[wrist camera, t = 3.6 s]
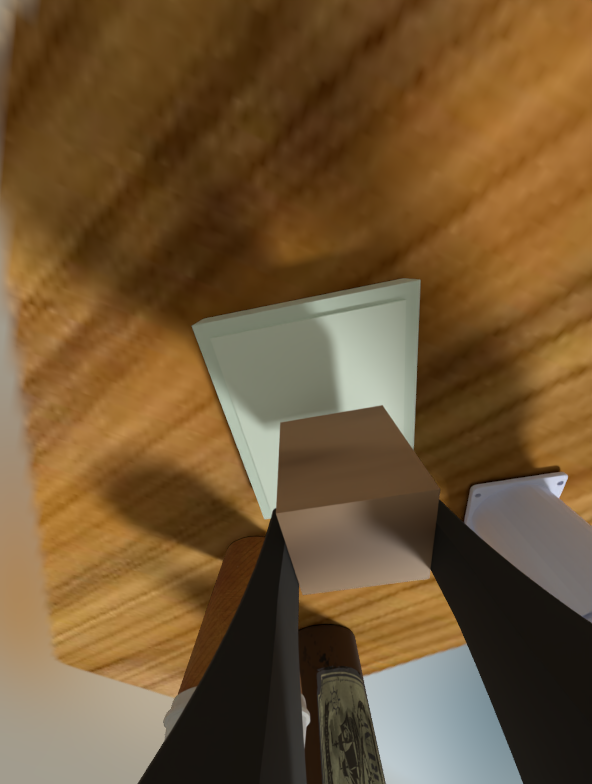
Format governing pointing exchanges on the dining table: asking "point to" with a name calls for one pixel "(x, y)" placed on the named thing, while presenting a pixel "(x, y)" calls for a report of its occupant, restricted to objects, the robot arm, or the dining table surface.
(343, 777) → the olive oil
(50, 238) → the dining table surface
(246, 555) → the disposable coffee cup
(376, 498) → the walnut block
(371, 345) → the serving board
